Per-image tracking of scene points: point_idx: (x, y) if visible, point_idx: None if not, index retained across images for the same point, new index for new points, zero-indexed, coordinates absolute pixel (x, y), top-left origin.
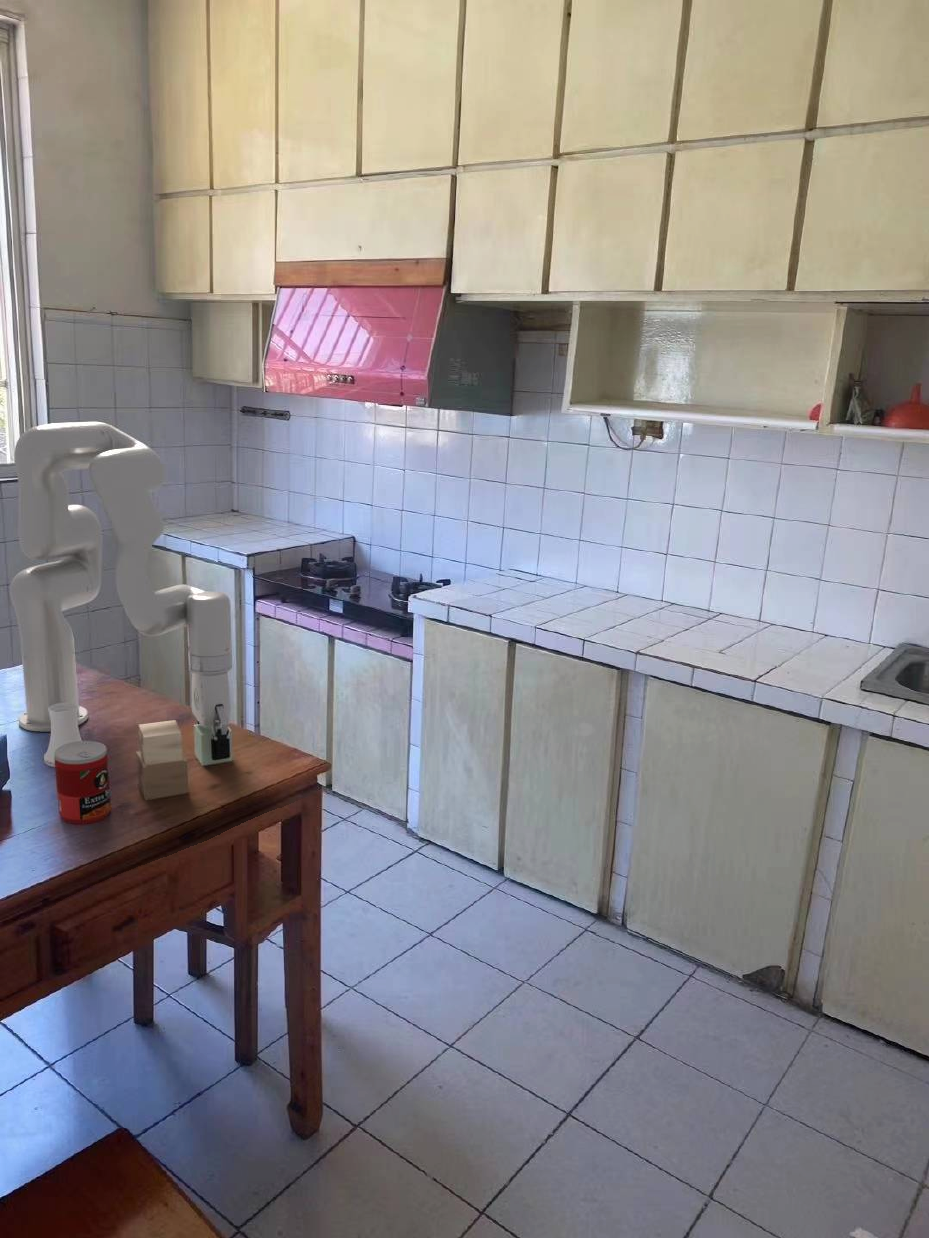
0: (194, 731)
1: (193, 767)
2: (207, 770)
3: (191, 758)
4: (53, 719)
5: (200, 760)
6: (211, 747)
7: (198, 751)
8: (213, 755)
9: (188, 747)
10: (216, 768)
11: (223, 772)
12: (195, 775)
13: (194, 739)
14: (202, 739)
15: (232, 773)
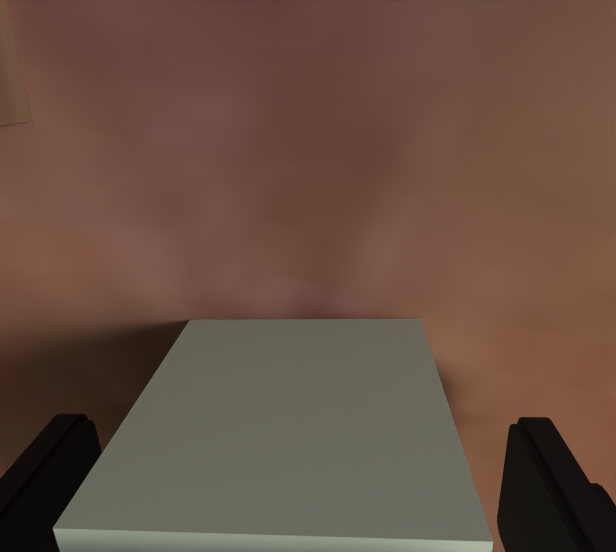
0: (442, 466)
1: (175, 256)
2: (98, 332)
3: (351, 278)
4: None
5: (237, 329)
6: (2, 493)
7: (289, 357)
8: (42, 444)
9: (584, 304)
10: (117, 388)
11: (45, 409)
12: (28, 239)
13: (440, 395)
14: (86, 489)
15: (21, 448)
